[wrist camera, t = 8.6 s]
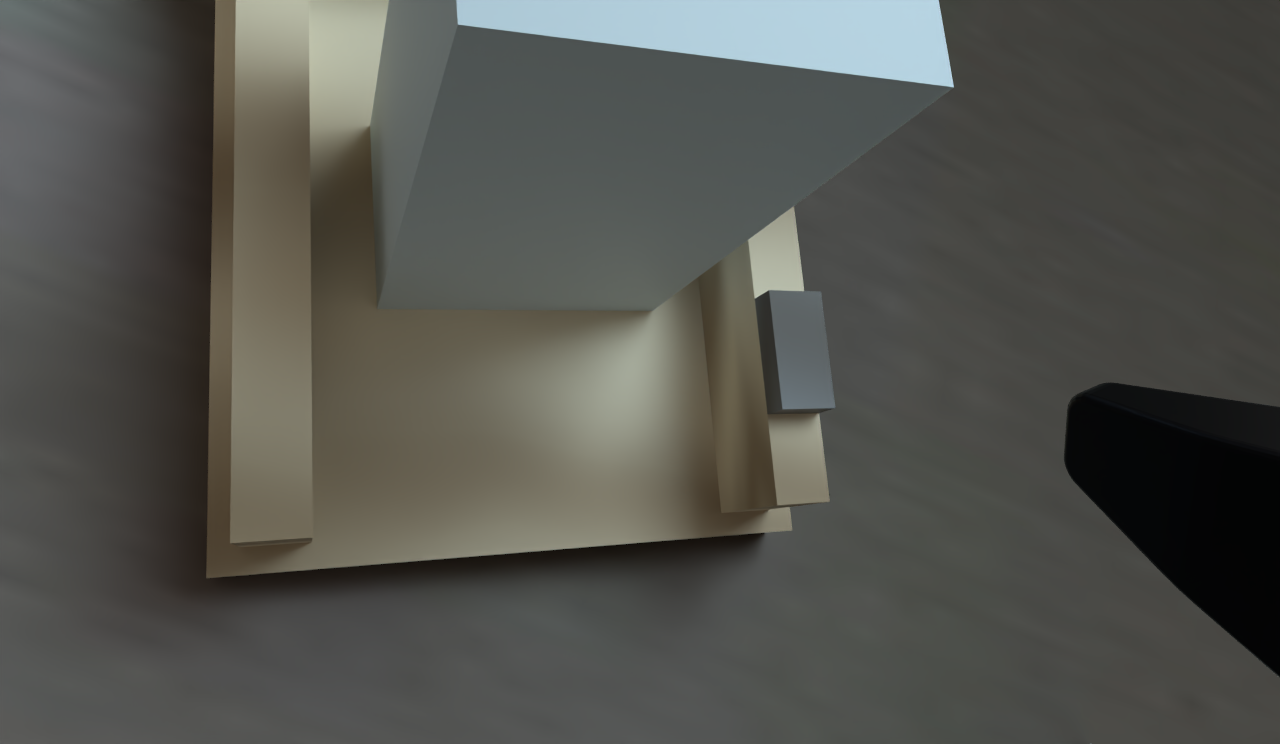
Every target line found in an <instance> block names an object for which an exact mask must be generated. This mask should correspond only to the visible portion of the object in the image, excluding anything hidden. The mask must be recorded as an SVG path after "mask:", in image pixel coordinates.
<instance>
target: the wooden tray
mask: <svg viewBox="0 0 1280 744" xmlns="http://www.w3.org/2000/svg"><path fill="white" fill-rule="evenodd" d="M388 3H389V0H215V59H214V123H213V187H212V251H211V314H210V378H209V442H208V506H207V570H206V578H216V577H228V576H240V575H253V574H265V573H277V572H289V571H301V570H314V569H326V568H338V567H350V566H362V565H375V564H387V563H399V562H411V561H424V560H436V559H448V558H460V557H472V556H485V555H497V554H509V553H521V552H533V551H546V550H558V549H570V548H582V547H594V546H607V545H619V544H631V543H643V542H656V541H668V540H680V539H692V538H704V537H717V536H729V535H741V534H753V533H765V532H778V531H790V530H792V523H791V514H790V507H793V506H801V505H808V504H816V503H823V502H830V500H829V492H828V483H827V475H826V467H825V459H824V450H823V442H822V434H821V426H820V418H819V413H821V412H824V411H827V410H831V409H834V408H835V401H834V393H833V385H832V377H831V369H830V361H829V353H828V345H827V337H826V329H825V321H824V313H823V305H822V297H821V292H812V291H804V286H803V278H802V269H801V261H800V253H799V245H798V237H797V228H796V220H795V212H794V206H793V207H792V208H790V209H789V210H788V211H786V212H785V213H784V214H782V215H781V216H780V217H778V218H777V219H776V220H774V221H773V222H772V223H770V224H769V225H768V226H766V227H765V228H764V229H762V230H761V231H760V232H758V233H757V234H755V235H754V236H753V237H751V238H750V239H749V240H747V241H746V242H745V243H743V244H742V245H741V246H739V247H738V248H737V249H735V250H734V251H733V252H731V253H730V254H729V255H727V256H726V257H725V258H723V259H722V260H720V261H719V262H718V263H716V264H715V265H714V266H712V267H711V268H710V269H708V270H707V271H706V272H704V273H703V274H702V275H700V276H699V277H698V278H696V279H695V280H694V281H692V282H691V283H690V284H688V285H687V286H685V287H684V288H683V289H681V290H680V291H679V292H677V293H676V294H675V295H673V296H672V297H671V298H669V299H668V300H667V301H665V302H664V303H663V304H661V305H660V306H659V307H657V308H656V309H655V310H653V311H578V310H437V309H377V295H376V269H375V243H374V217H373V191H372V165H371V139H370V122H371V116H372V109H373V102H374V96H375V89H376V83H377V76H378V69H379V63H380V56H381V49H382V43H383V36H384V30H385V23H386V16H387V10H388Z"/></svg>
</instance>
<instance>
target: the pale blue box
mask: <svg viewBox="0 0 1280 744" xmlns="http://www.w3.org/2000/svg"><path fill="white" fill-rule="evenodd" d="M953 87H954V85H953V80H952V74H951V68H950V63H949V57H948V51H947V46H946V40H945V34H944V29H943V23H942V17H941V12H940V6H939V0H389V3H388V10H387V16H386V23H385V30H384V36H383V43H382V49H381V56H380V63H379V69H378V76H377V83H376V89H375V96H374V102H373V109H372V116H371V122H370V139H371V165H372V191H373V217H374V243H375V269H376V295H377V309H437V310H578V311H653V310H655V309H656V308H657V307H659V306H660V305H661V304H663V303H664V302H665V301H667V300H668V299H669V298H671V297H672V296H673V295H675V294H676V293H677V292H679V291H680V290H681V289H683V288H684V287H685V286H687V285H688V284H690V283H691V282H692V281H694V280H695V279H696V278H698V277H699V276H700V275H702V274H703V273H704V272H706V271H707V270H708V269H710V268H711V267H712V266H714V265H715V264H716V263H718V262H719V261H720V260H722V259H723V258H725V257H726V256H727V255H729V254H730V253H731V252H733V251H734V250H735V249H737V248H738V247H739V246H741V245H742V244H743V243H745V242H746V241H747V240H749V239H750V238H751V237H753V236H754V235H755V234H757V233H758V232H760V231H761V230H762V229H764V228H765V227H766V226H768V225H769V224H770V223H772V222H773V221H774V220H776V219H777V218H778V217H780V216H781V215H782V214H784V213H785V212H786V211H788V210H789V209H790V208H792V207H793V206H795V205H796V204H797V203H799V202H800V201H801V200H803V199H804V198H805V197H807V196H808V195H809V194H811V193H812V192H813V191H815V190H816V189H817V188H819V187H820V186H821V185H823V184H824V183H825V182H827V181H828V180H830V179H831V178H832V177H834V176H835V175H836V174H838V173H839V172H840V171H842V170H843V169H844V168H846V167H847V166H848V165H850V164H851V163H852V162H854V161H855V160H856V159H858V158H859V157H861V156H862V155H863V154H865V153H866V152H867V151H869V150H870V149H871V148H873V147H874V146H875V145H877V144H878V143H879V142H881V141H882V140H883V139H885V138H886V137H887V136H889V135H890V134H891V133H893V132H894V131H896V130H897V129H898V128H900V127H901V126H902V125H904V124H905V123H906V122H908V121H909V120H910V119H912V118H913V117H914V116H916V115H917V114H918V113H920V112H921V111H922V110H924V109H925V108H926V107H928V106H929V105H931V104H932V103H933V102H935V101H936V100H937V99H939V98H940V97H941V96H943V95H944V94H945V93H947V92H948V91H949V90H951V89H952V88H953Z"/></svg>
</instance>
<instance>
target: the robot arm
mask: <svg viewBox="0 0 1280 744" xmlns="http://www.w3.org/2000/svg"><path fill="white" fill-rule="evenodd" d="M1064 462H1065V466H1066V469H1067V471H1068V473H1069V475H1070V477H1071V478H1072V480H1073V481H1074V482H1075V483H1076V484H1077V485H1078V486H1079V487H1080V488H1081V489H1082V491H1083V492H1084V493H1085V494H1086V495H1087V496H1088V497H1089V498H1090V499H1091V500H1092V501H1093V502H1094V503H1095V504H1096V505H1097V506H1098V507H1099V508H1100V509H1101V510H1102V511H1103V512H1104V513H1105V514H1106V515H1107V516H1108V517H1109V519H1110V520H1111V521H1112V522H1113V523H1114V524H1115V525H1116V526H1117V527H1118V528H1119V529H1120V530H1121V531H1122V532H1123V533H1124V534H1125V535H1126V536H1127V537H1128V538H1129V539H1130V540H1131V541H1132V542H1133V543H1134V544H1135V546H1136V547H1137V548H1138V549H1139V550H1140V551H1141V552H1142V553H1143V554H1144V555H1145V556H1146V557H1147V558H1148V559H1149V560H1150V561H1151V562H1152V563H1153V564H1154V565H1155V566H1156V567H1157V568H1158V569H1159V570H1160V571H1161V572H1162V573H1163V574H1164V575H1165V576H1166V577H1167V578H1168V579H1169V580H1170V581H1171V582H1172V583H1173V584H1174V585H1175V586H1176V587H1177V588H1178V589H1179V590H1180V591H1181V592H1182V593H1183V594H1184V595H1186V596H1187V597H1188V598H1189V599H1190V600H1191V601H1192V602H1193V603H1194V604H1195V605H1197V606H1198V607H1199V608H1200V609H1201V610H1202V611H1203V612H1205V613H1206V614H1207V615H1208V616H1209V617H1210V618H1212V619H1213V620H1214V621H1215V622H1216V623H1217V624H1218V625H1220V626H1221V627H1222V628H1223V629H1224V630H1225V631H1227V632H1228V633H1229V634H1230V635H1231V636H1232V637H1233V638H1235V639H1236V640H1237V641H1238V642H1239V643H1240V644H1242V645H1243V646H1244V647H1245V648H1246V649H1247V650H1248V651H1250V652H1251V653H1252V654H1253V655H1254V656H1255V657H1257V658H1258V659H1259V660H1260V661H1261V662H1262V663H1263V664H1265V665H1266V666H1267V667H1268V668H1269V669H1270V670H1272V671H1273V672H1274V673H1275V674H1276V675H1277V676H1278V677H1280V407H1276V406H1269V405H1262V404H1255V403H1248V402H1241V401H1235V400H1228V399H1221V398H1214V397H1207V396H1201V395H1194V394H1187V393H1180V392H1173V391H1166V390H1160V389H1153V388H1146V387H1139V386H1132V385H1126V384H1119V383H1103V384H1099V385H1097V386H1095V387H1093V388H1090V389H1088V390H1086V391H1083V392H1081V393H1079V394H1077V395H1075V396H1074V397H1073V398H1072V399H1071V401H1070V402H1069V404H1068V409H1067V420H1066V435H1065V449H1064Z"/></svg>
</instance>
